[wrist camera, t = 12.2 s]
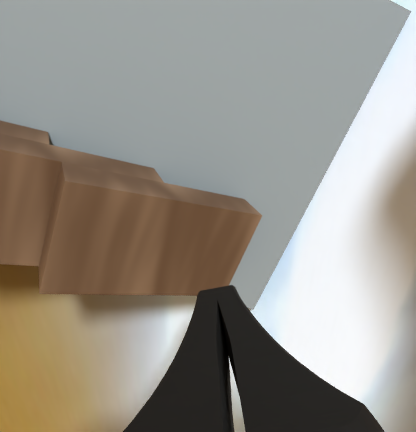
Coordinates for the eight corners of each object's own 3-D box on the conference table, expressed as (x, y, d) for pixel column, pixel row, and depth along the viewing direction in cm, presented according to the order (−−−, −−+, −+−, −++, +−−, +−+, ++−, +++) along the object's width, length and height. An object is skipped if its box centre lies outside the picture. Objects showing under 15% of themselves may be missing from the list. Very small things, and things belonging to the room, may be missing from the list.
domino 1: (164, 183, 15) (-94, 129, 11) (133, 271, 17) (-99, 258, 13) (154, 168, 17) (-79, 115, 12) (126, 251, 19) (-86, 233, 14)
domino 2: (262, 215, 16) (65, 180, 12) (223, 295, 18) (39, 293, 14) (244, 198, 18) (61, 162, 13) (210, 275, 20) (38, 266, 15)
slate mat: (403, 13, 15) (411, 11, 15) (251, 303, 21) (253, 309, 21) (-356, -381, 10) (-388, -407, 9) (-270, 160, 16) (-286, 163, 15)
